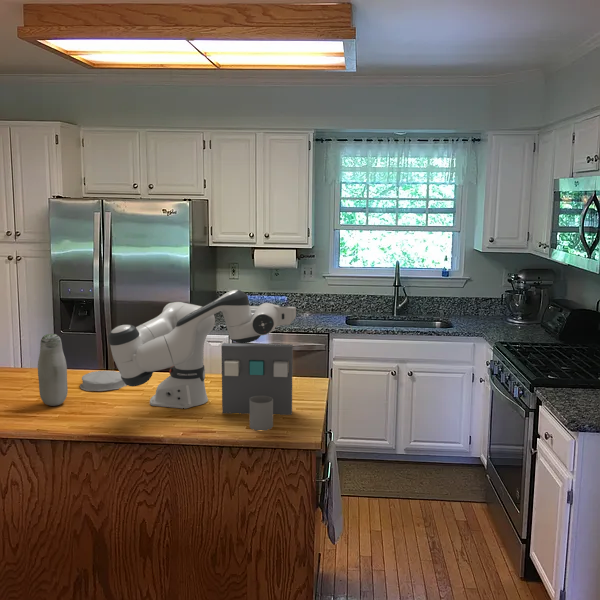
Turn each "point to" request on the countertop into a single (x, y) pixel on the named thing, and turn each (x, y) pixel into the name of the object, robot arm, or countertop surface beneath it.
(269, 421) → the cup
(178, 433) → the countertop surface
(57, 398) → the grey bottle
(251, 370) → the teal push-block
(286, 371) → the light grey push-block
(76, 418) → the countertop surface
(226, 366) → the cream push-block
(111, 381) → the food container
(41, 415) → the countertop surface
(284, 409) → the button panel
